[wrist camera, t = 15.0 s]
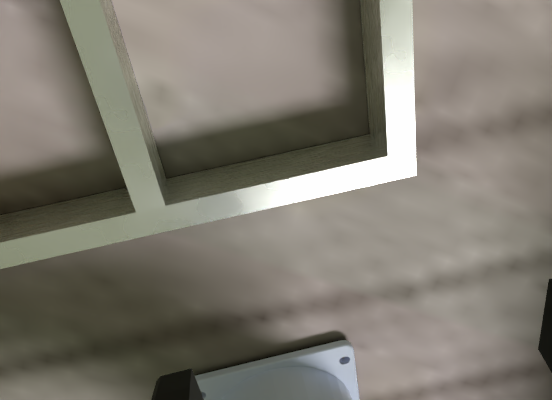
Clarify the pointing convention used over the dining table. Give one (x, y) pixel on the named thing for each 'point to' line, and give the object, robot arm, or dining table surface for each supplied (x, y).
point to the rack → (223, 180)
